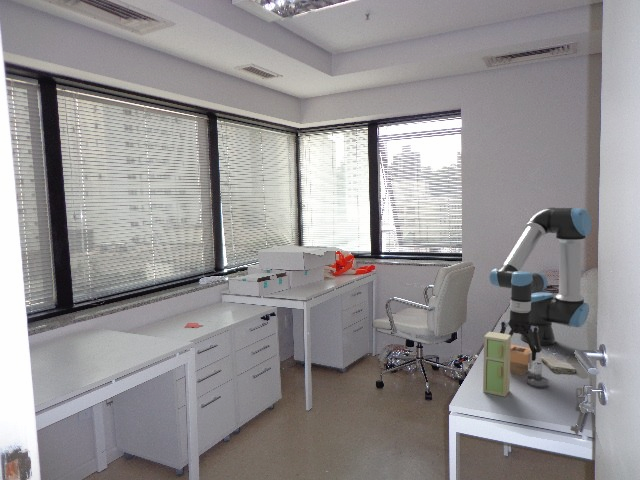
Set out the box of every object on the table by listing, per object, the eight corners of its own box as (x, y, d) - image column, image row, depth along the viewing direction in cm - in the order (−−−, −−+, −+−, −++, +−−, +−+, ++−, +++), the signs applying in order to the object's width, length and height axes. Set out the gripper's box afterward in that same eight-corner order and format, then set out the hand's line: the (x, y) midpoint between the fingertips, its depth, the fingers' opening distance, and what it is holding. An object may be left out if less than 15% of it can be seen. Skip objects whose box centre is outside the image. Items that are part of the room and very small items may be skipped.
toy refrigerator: (481, 392, 167) (483, 336, 164) (486, 385, 173) (488, 331, 170) (504, 398, 162) (507, 340, 160) (509, 390, 168) (511, 334, 166)
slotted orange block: (509, 353, 192) (510, 344, 192) (532, 358, 187) (533, 348, 186) (503, 359, 185) (503, 350, 185) (527, 364, 180) (527, 355, 179)
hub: (529, 379, 179) (530, 359, 178) (550, 383, 174) (551, 363, 173) (524, 385, 173) (525, 364, 172) (545, 390, 169) (546, 369, 168)
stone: (538, 360, 199) (538, 354, 199) (564, 361, 198) (564, 355, 198) (550, 374, 185) (550, 367, 184) (578, 375, 183) (578, 368, 183)
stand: (511, 366, 191) (512, 344, 190) (528, 370, 187) (529, 347, 186) (507, 371, 186) (508, 348, 185) (523, 375, 182) (525, 352, 181)
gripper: (489, 308, 187) (487, 361, 190) (548, 317, 174) (545, 374, 177) (495, 304, 193) (493, 356, 196) (552, 312, 180) (549, 368, 183)
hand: (517, 365), depth 186 cm, fingers closed on slotted orange block, 9 cm apart
